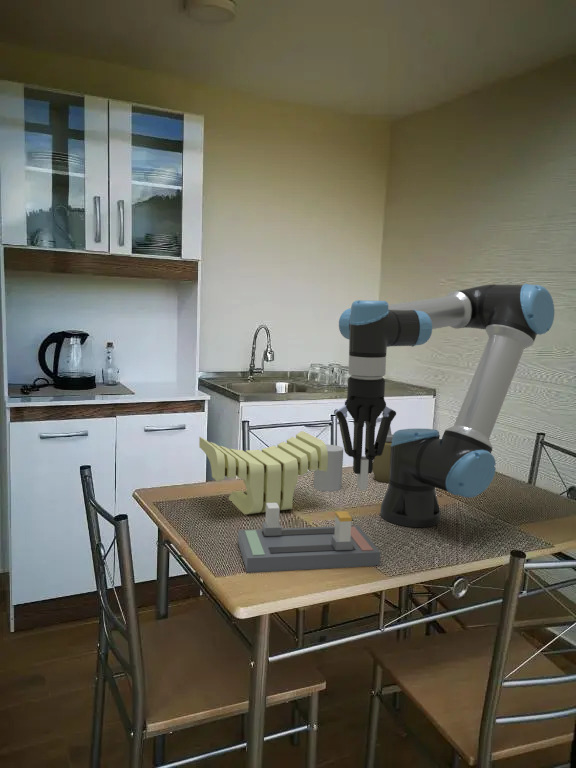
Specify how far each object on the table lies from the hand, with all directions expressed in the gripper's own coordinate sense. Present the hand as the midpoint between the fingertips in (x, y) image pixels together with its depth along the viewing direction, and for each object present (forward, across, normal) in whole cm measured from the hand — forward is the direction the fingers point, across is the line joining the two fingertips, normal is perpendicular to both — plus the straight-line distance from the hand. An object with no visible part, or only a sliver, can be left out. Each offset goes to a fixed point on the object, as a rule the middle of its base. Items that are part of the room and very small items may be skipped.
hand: (361, 488), depth 126 cm
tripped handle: (+13, +4, 0) cm, 13 cm away
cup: (+17, -6, -50) cm, 53 cm away
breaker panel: (+16, +11, -4) cm, 19 cm away
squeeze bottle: (+17, -25, -56) cm, 64 cm away
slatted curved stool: (+16, +16, -35) cm, 42 cm away
